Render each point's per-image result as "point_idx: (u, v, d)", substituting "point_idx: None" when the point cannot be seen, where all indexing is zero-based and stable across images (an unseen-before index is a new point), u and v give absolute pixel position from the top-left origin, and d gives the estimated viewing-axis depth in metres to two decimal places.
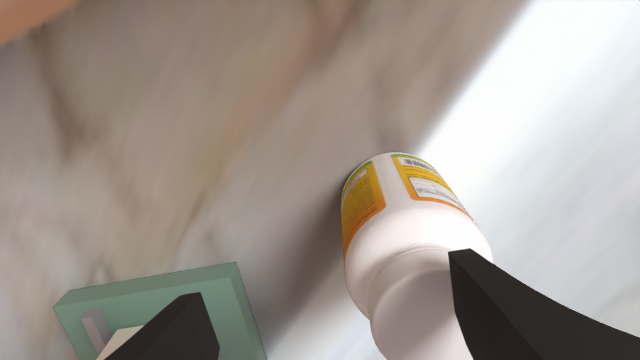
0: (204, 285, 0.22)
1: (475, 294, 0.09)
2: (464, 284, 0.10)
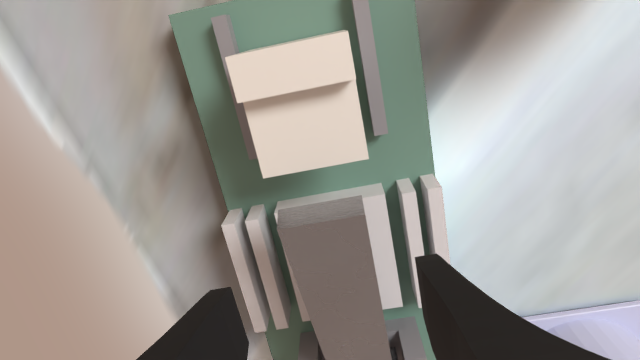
0: None
1: (435, 300, 0.09)
2: (427, 290, 0.10)
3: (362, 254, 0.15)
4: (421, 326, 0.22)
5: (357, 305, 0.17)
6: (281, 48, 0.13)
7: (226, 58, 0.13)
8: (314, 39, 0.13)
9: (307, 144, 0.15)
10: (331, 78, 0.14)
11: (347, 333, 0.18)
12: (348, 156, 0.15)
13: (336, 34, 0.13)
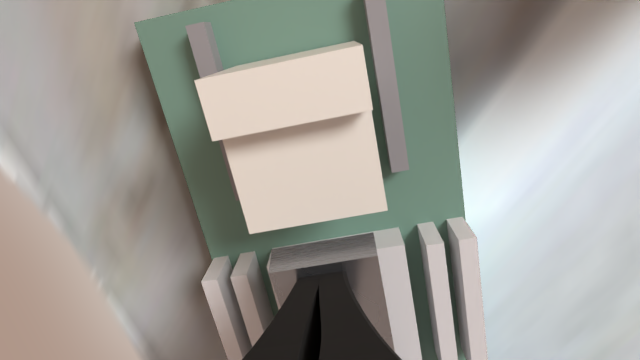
0: None
1: None
2: None
3: (374, 306, 0.12)
4: None
5: None
6: (271, 69, 0.10)
7: (196, 82, 0.10)
8: (316, 56, 0.10)
9: (306, 191, 0.12)
10: (339, 109, 0.10)
11: None
12: (360, 207, 0.12)
13: (346, 49, 0.09)
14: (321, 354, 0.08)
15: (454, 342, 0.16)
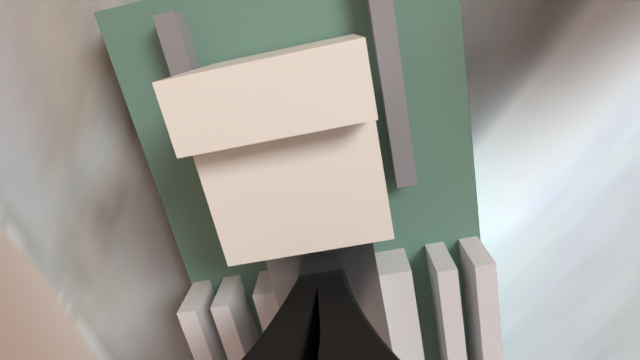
0: None
1: None
2: None
3: (369, 294, 0.12)
4: None
5: None
6: (249, 68, 0.08)
7: (155, 84, 0.08)
8: (306, 52, 0.07)
9: (296, 216, 0.09)
10: (335, 118, 0.08)
11: None
12: (362, 235, 0.10)
13: (344, 43, 0.07)
14: (319, 354, 0.08)
15: None
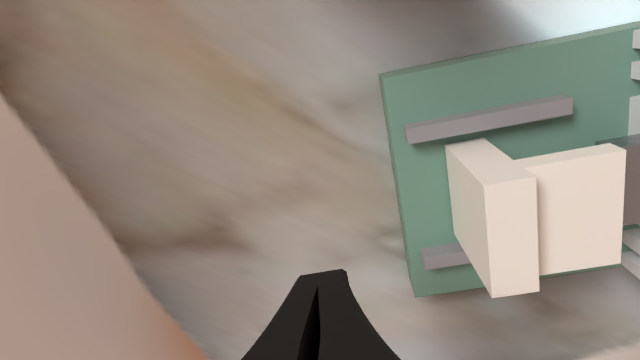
0: (394, 114, 0.16)
1: None
2: None
3: None
4: None
5: None
6: (491, 248, 0.13)
7: (492, 296, 0.14)
8: (487, 218, 0.13)
9: (591, 217, 0.13)
10: (530, 202, 0.12)
11: None
12: (617, 173, 0.13)
13: (485, 197, 0.12)
14: (320, 354, 0.08)
15: None
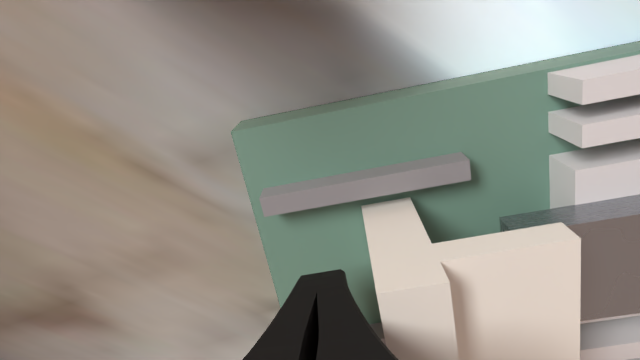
0: (251, 176, 0.13)
1: None
2: None
3: (592, 234, 0.10)
4: None
5: None
6: None
7: None
8: (386, 335, 0.09)
9: (537, 324, 0.10)
10: (444, 315, 0.09)
11: None
12: (569, 268, 0.09)
13: (380, 308, 0.09)
14: (318, 354, 0.08)
15: None
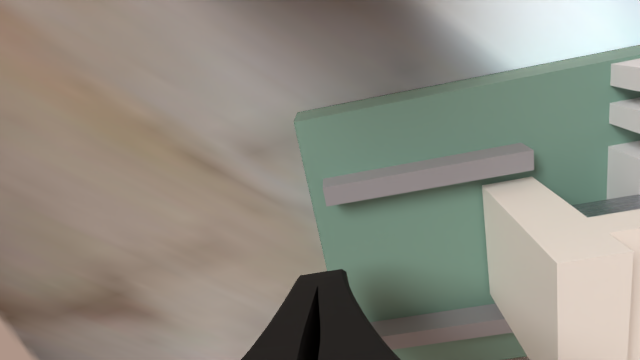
0: (311, 166, 0.13)
1: None
2: None
3: None
4: None
5: None
6: (563, 346, 0.09)
7: None
8: (559, 306, 0.09)
9: None
10: (622, 285, 0.09)
11: None
12: None
13: (559, 278, 0.09)
14: (320, 354, 0.08)
15: None
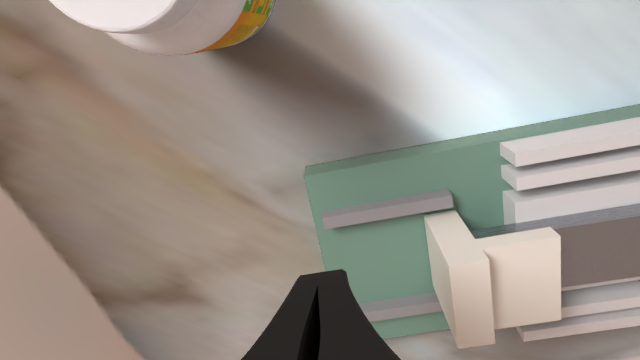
0: (315, 203, 0.20)
1: None
2: None
3: None
4: None
5: (595, 242, 0.18)
6: (456, 312, 0.16)
7: (458, 347, 0.17)
8: (452, 289, 0.16)
9: (536, 285, 0.17)
10: (485, 277, 0.16)
11: None
12: (554, 253, 0.16)
13: (450, 274, 0.16)
14: (320, 354, 0.08)
15: (621, 160, 0.17)
